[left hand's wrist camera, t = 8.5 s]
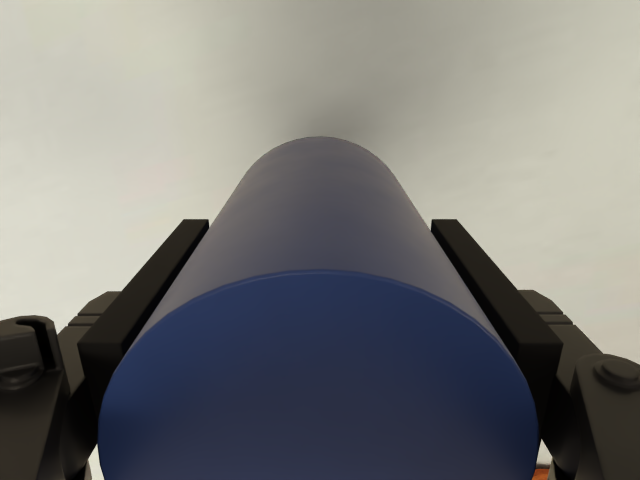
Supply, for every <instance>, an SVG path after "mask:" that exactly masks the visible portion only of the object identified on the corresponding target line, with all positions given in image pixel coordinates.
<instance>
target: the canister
mask: <svg viewBox="0 0 640 480" xmlns="http://www.w3.org/2000/svg"><path fill="white" fill-rule="evenodd" d="M97 445H98V453H99V461H100V466H101V470H102V473H103V476H104V480H532V478H533V475H534V472H535V468H536V462H537V456H538V450H539V425H538V419H537V414H536V408H535V403H534V400H533V397H532V394H531V392H530V389H529V386H528V384H527V381H526V379H525V377H524V375H523V374H522V372H521V370H520V368H519V367H518V365H517V363H516V362H515V360H514V358H513V357H512V355H511V353H510V352H509V350H508V349H507V347H506V346H505V344H504V343H503V341H502V340H501V338H500V337H499V335H498V334H497V332H496V331H495V329H494V327H493V326H492V324H491V323H490V321H489V320H488V318H487V317H486V315H485V314H484V312H483V311H482V309H481V308H480V306H479V305H478V303H477V301H476V300H475V298H474V297H473V295H472V294H471V292H470V291H469V289H468V288H467V286H466V285H465V283H464V282H463V280H462V278H461V277H460V275H459V274H458V272H457V271H456V269H455V268H454V266H453V265H452V263H451V262H450V260H449V259H448V257H447V256H446V254H445V252H444V251H443V249H442V248H441V246H440V245H439V243H438V242H437V240H436V239H435V237H434V236H433V234H432V233H431V231H430V229H429V228H428V226H427V225H426V223H425V222H424V220H423V219H422V217H421V216H420V214H419V213H418V211H417V210H416V208H415V207H414V205H413V203H412V202H411V200H410V199H409V197H408V196H407V194H406V193H405V191H404V190H403V188H402V187H401V185H400V184H399V182H398V180H397V179H396V177H395V176H394V174H393V173H392V172H391V171H390V169H389V168H388V167H387V166H386V165H385V164H384V163H383V162H382V161H381V160H380V159H379V158H378V157H377V156H375V155H374V154H372V153H371V152H370V151H368V150H366V149H364V148H363V147H361V146H359V145H357V144H354V143H351V142H349V141H346V140H342V139H337V138H331V137H307V138H302V139H296V140H293V141H290V142H287V143H284V144H282V145H280V146H278V147H276V148H274V149H272V150H271V151H269V152H268V153H266V154H264V155H263V156H262V157H261V158H260V159H259V160H257V161H256V162H255V163H254V164H253V165H252V166H251V168H250V169H249V170H248V171H247V172H246V174H245V175H244V177H243V178H242V180H241V181H240V183H239V184H238V186H237V187H236V189H235V190H234V192H233V193H232V195H231V196H230V198H229V199H228V201H227V202H226V204H225V205H224V207H223V208H222V210H221V211H220V213H219V214H218V216H217V217H216V219H215V220H214V222H213V223H212V225H211V226H210V228H209V229H208V231H207V232H206V234H205V235H204V237H203V238H202V240H201V241H200V243H199V244H198V246H197V247H196V249H195V250H194V252H193V253H192V255H191V256H190V258H189V259H188V261H187V262H186V264H185V265H184V267H183V268H182V270H181V271H180V273H179V275H178V276H177V278H176V279H175V281H174V282H173V284H172V285H171V287H170V288H169V290H168V291H167V293H166V294H165V296H164V297H163V299H162V300H161V302H160V303H159V305H158V306H157V308H156V309H155V311H154V312H153V314H152V315H151V317H150V318H149V320H148V321H147V323H146V324H145V326H144V327H143V329H142V330H141V332H140V333H139V335H138V336H137V338H136V339H135V341H134V342H133V344H132V345H131V347H130V348H129V350H128V351H127V353H126V354H125V356H124V357H123V359H122V360H121V362H120V364H119V365H118V367H117V368H116V370H115V371H114V373H113V375H112V377H111V380H110V382H109V384H108V387H107V389H106V391H105V394H104V396H103V401H102V405H101V409H100V414H99V418H98V437H97Z"/></svg>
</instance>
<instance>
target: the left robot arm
mask: <svg viewBox="0 0 640 480" xmlns="http://www.w3.org/2000/svg"><path fill="white" fill-rule="evenodd" d="M208 229H209V220H208V219H184V220H183V221H182V222H181V223H180V224H179V225H178V227H177V228H176V229H175V230H174V231H173V232H172V234H171V235H170V236H169V237H168V238H167V239H166V240H165V242H164V243H163V244H162V245H161V246H160V247H159V249H158V250H157V251H156V252H155V253H154V254H153V256H152V257H151V258H150V259H149V260H148V261H147V262H146V264H145V265H144V266H143V267H142V268H141V269H140V271H139V272H138V273H137V274H136V275H135V276H134V278H133V279H132V280H131V281H130V282H129V283H128V284H127V286H126V287H125V288H124V289H123V290H122V291H107V292H106V293H104V294H102V295H100V296H99V297H97V298H95V299H93V300H91V301H90V302H89V303H88V304H87V305H86V306H85V307H84V308H83V309H82V310H81V311H80V312H79V313H78V316H75V317H74V318H73V319H72V320H71V321H70V322H69V323H68V326H65V327H64V329H63V330H62V331H61V332H60V333H59V334H58V335H57V333H56V329H55V325H54V322H53V321H52V320H50V319H49V318H47V317H43V316H36V315H31V316H19V317H14V318H10V319H6V320H2V321H0V480H92V476H91V470H90V465H89V461H88V458H89V457H90V455H91V453H92V451H93V450H94V448H95V446H96V445H97V437H98V418H99V414H100V409H101V405H102V401H103V396H104V394H105V391H106V389H107V387H108V384H109V382H110V380H111V377H112V375H113V373H114V371H115V370H116V368H117V367H118V365H119V364H120V362H121V360H122V359H123V357H124V356H125V354H126V353H127V351H128V350H129V348H130V347H131V345H132V344H133V342H134V341H135V339H136V338H137V336H138V335H139V333H140V332H141V330H142V329H143V327H144V326H145V324H146V323H147V321H148V320H149V318H150V317H151V315H152V314H153V312H154V311H155V309H156V308H157V306H158V305H159V303H160V302H161V300H162V299H163V297H164V296H165V294H166V293H167V291H168V290H169V288H170V287H171V285H172V284H173V282H174V281H175V279H176V278H177V276H178V275H179V273H180V271H181V270H182V268H183V267H184V265H185V264H186V262H187V261H188V259H189V258H190V256H191V255H192V253H193V252H194V250H195V249H196V247H197V246H198V244H199V243H200V241H201V240H202V238H203V237H204V235H205V234H206V232H207V231H208ZM431 233H432V234H433V236H434V237H435V239H436V240H437V242H438V243H439V245H440V246H441V248H442V249H443V251H444V252H445V254H446V256H447V257H448V259H449V260H450V262H451V263H452V265H453V266H454V268H455V269H456V271H457V272H458V274H459V275H460V277H461V278H462V280H463V282H464V283H465V285H466V286H467V288H468V289H469V291H470V292H471V294H472V295H473V297H474V298H475V300H476V301H477V303H478V305H479V306H480V308H481V309H482V311H483V312H484V314H485V315H486V317H487V318H488V320H489V321H490V323H491V324H492V326H493V327H494V329H495V331H496V332H497V334H498V335H499V337H500V338H501V340H502V341H503V343H504V344H505V346H506V347H507V349H508V350H509V352H510V353H511V355H512V357H513V358H514V360H515V362H516V363H517V365H518V367H519V368H520V370H521V372H522V374H523V375H524V377H525V379H526V381H527V384H528V386H529V389H530V392H531V394H532V397H533V400H534V403H535V408H536V414H537V419H538V425H539V447H540V443H541V439H542V440H543V442H544V443H545V445H546V447H547V448H548V450H549V452H550V454H551V455H552V461H551V465H550V469H549V473H548V477H547V480H640V365H639V364H637V363H635V362H632V361H630V360H628V359H625V358H622V357H618V356H614V355H610V354H603V353H602V352H601V351H600V350H599V349H598V348H597V347H596V346H595V345H594V344H593V343H592V342H591V341H590V340H589V339H588V337H587V336H586V335H585V334H584V333H583V332H582V331H581V330H580V329H579V328H578V327H577V326H576V325H573V322H572V321H571V320H570V319H569V318H568V317H567V316H566V315H563V312H562V311H561V310H560V309H559V308H558V307H557V305H556V304H555V303H554V302H553V301H552V300H550V299H548V298H546V297H545V296H543V295H541V294H539V293H538V292H536V291H534V290H517V289H516V288H515V286H514V285H513V284H512V283H511V282H510V281H509V279H508V278H507V277H506V276H505V275H504V274H503V273H502V271H501V270H500V269H499V268H498V267H497V266H496V264H495V263H494V262H493V261H492V260H491V259H490V257H489V256H488V255H487V254H486V253H485V252H484V251H483V249H482V248H481V247H480V246H479V245H478V244H477V242H476V241H475V240H474V239H473V238H472V237H471V236H470V234H469V233H468V232H467V231H466V230H465V229H464V227H463V226H462V225H461V224H460V223H459V222H458V220H457V219H432V223H431ZM538 452H539V450H538Z"/></svg>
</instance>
